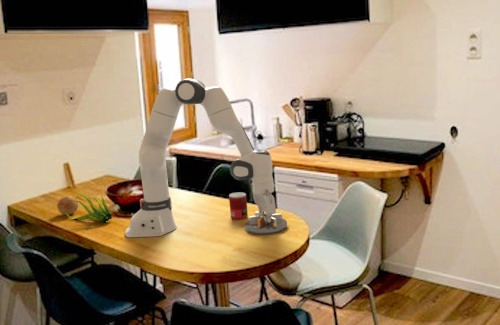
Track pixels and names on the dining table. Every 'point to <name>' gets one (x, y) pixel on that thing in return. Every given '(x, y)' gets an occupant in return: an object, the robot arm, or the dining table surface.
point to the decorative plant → (94, 210)
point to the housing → (266, 228)
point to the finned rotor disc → (264, 219)
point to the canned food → (238, 205)
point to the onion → (67, 205)
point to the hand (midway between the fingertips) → (265, 218)
